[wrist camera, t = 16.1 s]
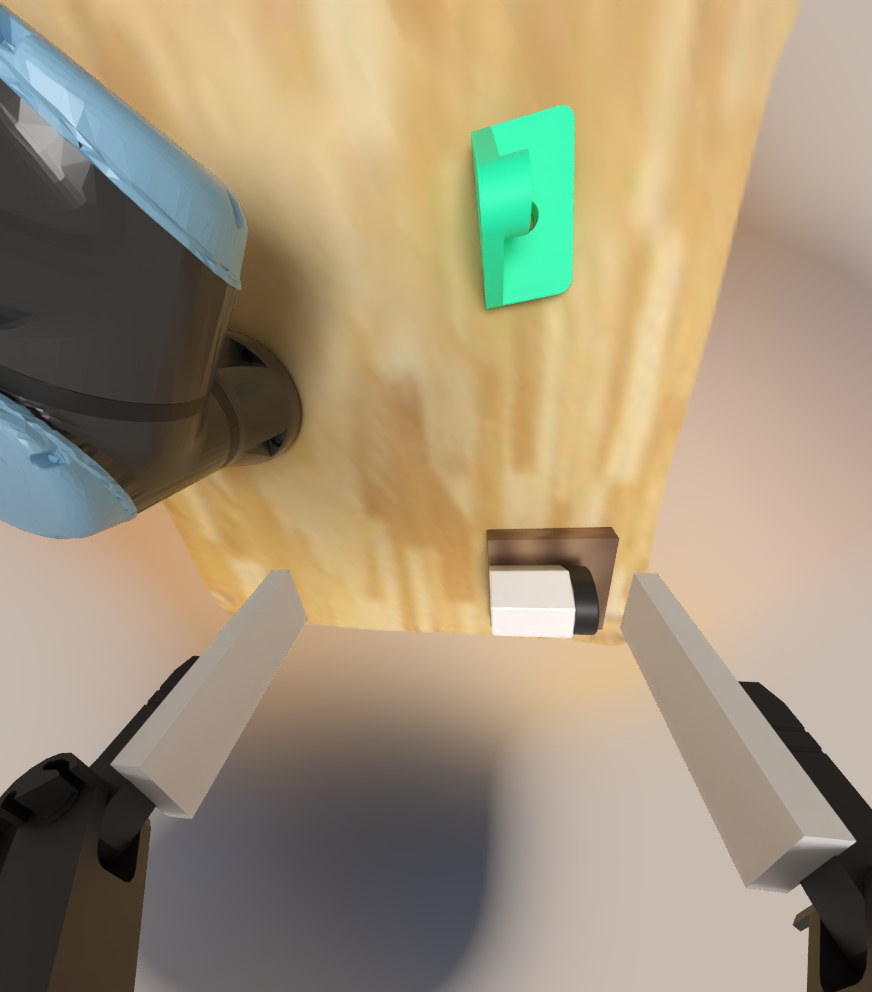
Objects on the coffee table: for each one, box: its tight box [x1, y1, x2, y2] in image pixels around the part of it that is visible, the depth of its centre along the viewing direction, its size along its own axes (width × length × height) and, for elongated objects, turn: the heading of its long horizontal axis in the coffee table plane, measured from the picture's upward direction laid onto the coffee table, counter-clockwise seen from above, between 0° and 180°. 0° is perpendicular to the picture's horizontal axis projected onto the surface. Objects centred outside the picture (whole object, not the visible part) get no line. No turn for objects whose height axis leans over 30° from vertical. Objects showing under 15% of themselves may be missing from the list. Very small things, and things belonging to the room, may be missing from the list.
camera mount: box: [471, 105, 575, 309], centre depth 25 cm, size 12×8×10 cm, turn 10°
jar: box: [489, 565, 599, 638], centre depth 40 cm, size 9×8×12 cm
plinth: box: [487, 527, 619, 630], centre depth 45 cm, size 16×16×2 cm
